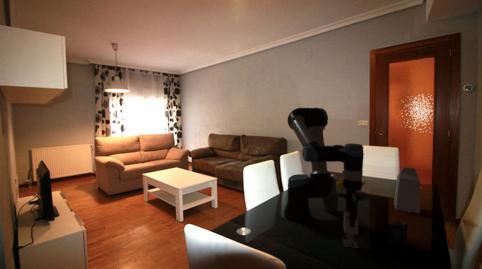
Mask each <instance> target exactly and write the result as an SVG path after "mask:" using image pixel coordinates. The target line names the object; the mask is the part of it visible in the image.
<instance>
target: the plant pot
mask: <svg viewBox="0 0 482 269" xmlns="http://www.w3.org/2000/svg"><path fill="white" fill-rule="evenodd" d="M340 195H341V194H340V192H339V191H336V192H335V194H334V195H333V196H332V197H328V198H321V200H322V203H323V209H324V211H326V212H328V213H333V212H338V210H339V209H338V207H339V197H340Z"/></svg>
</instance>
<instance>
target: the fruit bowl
mask: <svg viewBox="0 0 482 269" xmlns="http://www.w3.org/2000/svg"><path fill="white" fill-rule="evenodd" d="M343 179H344V177H343V176H342V177H340V178H339V179H335V181H336V191H339V192H340V194H339V195H343V196H347V193H346V192H347V190H346V188H344V187H343ZM365 184H366V181H364V182H363V181H362V187H363V186H364V185H365ZM362 190H363V188H362V189H360V190H356V193H357V194H359V193H360V192H361V191H362Z"/></svg>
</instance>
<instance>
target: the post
mask: <svg viewBox="0 0 482 269" xmlns="http://www.w3.org/2000/svg"><path fill="white" fill-rule="evenodd" d="M341 240H342V244H344V245H343V247H344V246H345V247H344V248H349V247H352V248H351V249H356V248H358V249H357V250H359V249H360V247H359V245H358V243H357V240H355V234H349V233H346V239H345V238H342V239H341Z"/></svg>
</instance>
